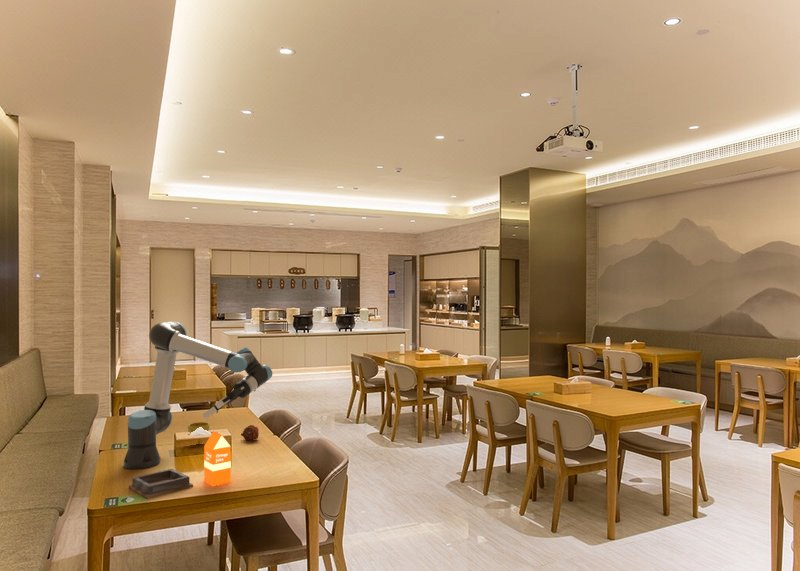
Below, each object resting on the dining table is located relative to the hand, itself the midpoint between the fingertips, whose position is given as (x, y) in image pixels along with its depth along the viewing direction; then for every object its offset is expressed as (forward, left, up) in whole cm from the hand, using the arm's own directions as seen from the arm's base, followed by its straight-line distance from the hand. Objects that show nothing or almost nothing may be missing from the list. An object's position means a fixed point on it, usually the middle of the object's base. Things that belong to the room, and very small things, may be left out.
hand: (210, 411), depth 249 cm
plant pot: (-25, +46, -26) cm, 59 cm away
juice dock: (-11, -22, -26) cm, 35 cm away
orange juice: (+9, -14, -26) cm, 31 cm away
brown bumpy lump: (0, +53, -26) cm, 59 cm away
